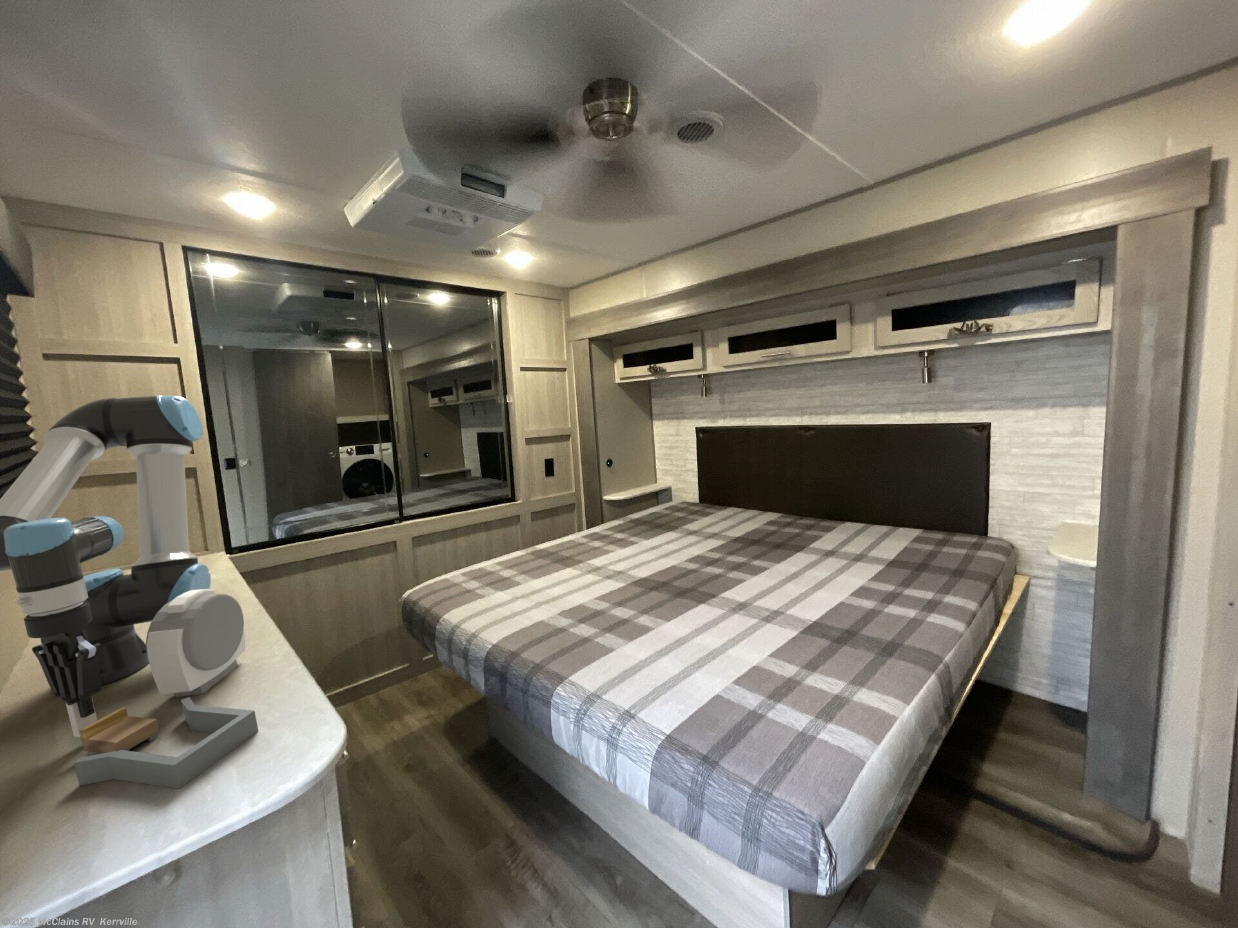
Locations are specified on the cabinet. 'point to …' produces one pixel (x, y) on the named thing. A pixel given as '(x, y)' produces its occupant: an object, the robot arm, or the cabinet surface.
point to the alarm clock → (195, 641)
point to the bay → (172, 770)
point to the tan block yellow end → (117, 732)
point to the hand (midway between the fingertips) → (86, 731)
